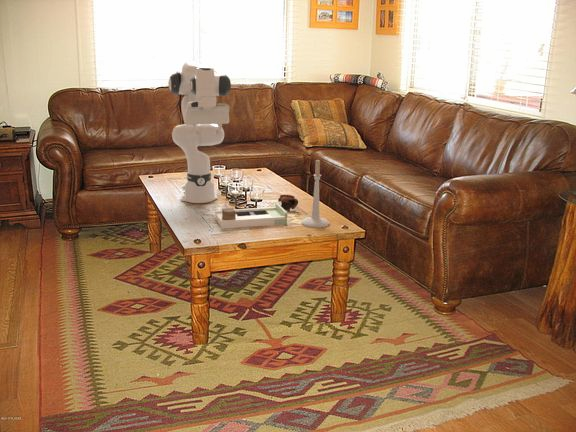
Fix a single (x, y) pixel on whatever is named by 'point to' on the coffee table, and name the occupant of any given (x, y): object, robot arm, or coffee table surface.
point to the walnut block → (228, 214)
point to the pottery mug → (288, 202)
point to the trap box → (254, 217)
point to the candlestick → (315, 204)
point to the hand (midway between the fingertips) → (207, 134)
